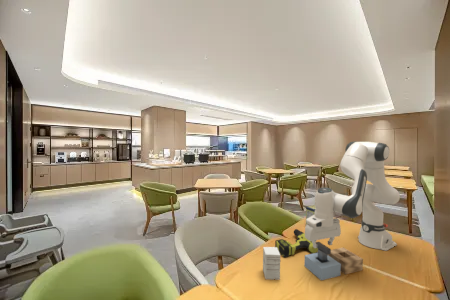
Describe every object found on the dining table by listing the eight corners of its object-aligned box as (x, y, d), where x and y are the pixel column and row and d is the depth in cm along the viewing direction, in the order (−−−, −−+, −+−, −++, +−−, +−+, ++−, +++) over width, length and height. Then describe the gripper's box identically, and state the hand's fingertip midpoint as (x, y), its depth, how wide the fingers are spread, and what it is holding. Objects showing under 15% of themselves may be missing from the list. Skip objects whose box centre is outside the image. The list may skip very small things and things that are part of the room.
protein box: (329, 227, 162) (330, 207, 162) (316, 231, 155) (317, 210, 154) (317, 222, 171) (318, 203, 171) (305, 226, 164) (305, 206, 163)
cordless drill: (265, 237, 144) (298, 234, 149) (282, 259, 120) (321, 254, 125) (266, 227, 143) (299, 225, 148) (283, 247, 119) (321, 243, 124)
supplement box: (262, 270, 109) (263, 246, 108) (276, 270, 108) (277, 246, 108) (264, 279, 101) (265, 254, 100) (280, 280, 101) (280, 254, 100)
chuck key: (313, 266, 112) (314, 242, 111) (318, 265, 113) (319, 241, 112) (325, 276, 104) (326, 250, 103) (330, 274, 105) (331, 248, 104)
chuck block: (322, 262, 116) (322, 251, 116) (340, 275, 105) (340, 264, 104) (304, 266, 112) (304, 255, 112) (321, 280, 101) (321, 268, 101)
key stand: (343, 257, 121) (343, 247, 120) (362, 269, 109) (363, 258, 109) (326, 261, 117) (326, 250, 117) (344, 274, 106) (345, 262, 105)
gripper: (334, 215, 113) (333, 240, 114) (303, 219, 107) (302, 246, 108) (344, 219, 107) (343, 246, 108) (311, 224, 101) (311, 252, 102)
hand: (322, 246), depth 108 cm, fingers open, 8 cm apart
